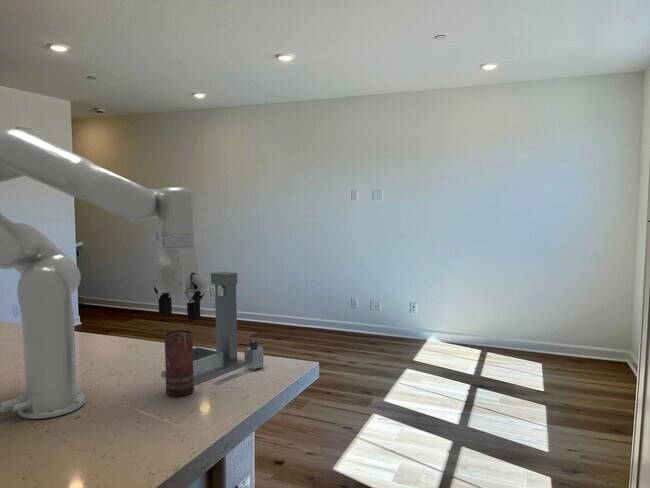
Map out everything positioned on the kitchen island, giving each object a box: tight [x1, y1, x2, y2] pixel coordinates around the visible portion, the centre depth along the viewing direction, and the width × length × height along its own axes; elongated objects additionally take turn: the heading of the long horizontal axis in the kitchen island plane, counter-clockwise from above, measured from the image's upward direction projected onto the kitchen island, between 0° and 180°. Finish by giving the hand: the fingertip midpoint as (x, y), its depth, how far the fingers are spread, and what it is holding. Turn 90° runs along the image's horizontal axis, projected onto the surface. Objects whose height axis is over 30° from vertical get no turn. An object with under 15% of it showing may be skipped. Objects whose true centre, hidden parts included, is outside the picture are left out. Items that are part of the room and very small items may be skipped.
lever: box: [244, 339, 264, 371], centre depth 126 cm, size 4×3×7 cm
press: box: [161, 271, 261, 386], centre depth 123 cm, size 19×17×25 cm
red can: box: [164, 329, 195, 398], centre depth 109 cm, size 6×6×14 cm
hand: (179, 317), depth 109 cm, fingers open, 9 cm apart
